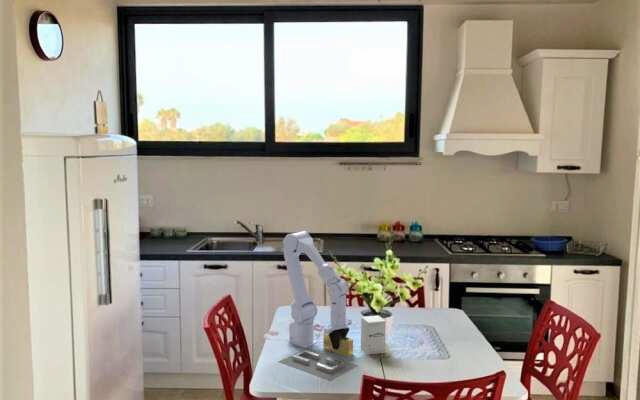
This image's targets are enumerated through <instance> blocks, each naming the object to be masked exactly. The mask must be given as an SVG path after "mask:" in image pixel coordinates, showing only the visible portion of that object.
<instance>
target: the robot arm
mask: <svg viewBox="0 0 640 400" xmlns="http://www.w3.org/2000/svg"><path fill="white" fill-rule="evenodd" d="M282 244H283V248H284V249H283V257H284V261H285V267H286V270H287V274H288V279H289V281H290V282H289V283H290V286H291V290H292V295H293V301H292V302H291V304H290V307H291V312H290V315H291V318H292V320H291V321H290V323H289V325H288V327H289V328H288V329H289V330H288V331H289V334H288V335H289V340H287V343H290V344H293V345H294V346H295V345H296V346H299V347H302V348H305V349H307V348H308V347H310V346H312V345H315V344H317V343H319V341H318V340H316V339H315V338H314V335H315V333H314V324H315V323H314V321H315V317H316V316H317V315H318V307H317V305H316V304H315V302H314V299H313V297H311V296H309V294H308V290H307V286H306V282H305V278H304V274H303V270H302V266H301V262H300V255H301V254H306V256H307V257H308V258H309V259H310V260H311V262H312V263H313V264H314V265H315V266H316V268H317V274H318V276H319V277H320V278H321V280H322V281H323V283H324V285H325V286H326V287H327V289H326V290H327V294H328V295H329V300H330V323H329V324H327V326H326V327H324V328H323V335H324V334H327V335H329V337H330V340H331V343H332V347H333V349H336V350H337V349H338V347H339V339H340V336H344V337H347V335H348V334H349V332H350V327H349V326H351V325H352V323H353V322H352V319H351V318H347V293H349V291H350V285H349V283H348V281H347V280H346V279H343V278H342V277H340V276H339V274H338V273H337V272H336V271H335V268H334V266H333V265H331V264H330V263H327V262H326V261H325V260H324V258H323V257H322V256H321V254H320V252H319V251H318V249H317V248H316V246H315V245H314V239H313V237H312V236H311V235H310V233H309V232H308V231H306V230H302V231H299V232H298V231H297V232H295V233H287V234H286V236H285V237H284V239H283V240H282Z"/></svg>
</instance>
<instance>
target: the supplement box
mask: <svg viewBox="0 0 640 400" xmlns="http://www.w3.org/2000/svg"><path fill="white" fill-rule="evenodd" d="M386 322H387V321H386V320H385V319H384V318H383V317H381V316H380V315H368V316H367V315H366V316H361V318H360V349H361V350H362V351H364V353H365V354H366V355H376V354H385V353H386Z"/></svg>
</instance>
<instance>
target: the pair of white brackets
mask: <svg viewBox="0 0 640 400" xmlns="http://www.w3.org/2000/svg"><path fill="white" fill-rule="evenodd" d="M304 350H305V349H304ZM301 351H302V352H300V351H299V352H300V353H298V352H297V353H298V354H296V353H295V354H296V355H294V354H293V355H294V356H293V360H294V361H297V362H300V363H302V364H305V365H308V364H310V360H309V359H306V358H303V357H304V356H307V357H310V358H313V359H316V360H319V359H320V355H319V354H316V353H313V352H310V351H307V350H305V351H303V350H301ZM326 363H327V364H330V365H333V366H334V367H329V366H326V365H324V364H321V363H317V364H316V369H319V370H322V371H325V372H328V373H330V374H332V373H334V372H336V371H338V370H340V369H341V368H343V367H344V363H343V362H340V361H337V360H334V359H331V358H327V359H326Z"/></svg>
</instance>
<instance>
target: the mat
mask: <svg viewBox="0 0 640 400" xmlns="http://www.w3.org/2000/svg"><path fill="white" fill-rule="evenodd" d="M305 350H307V351H310V352H313V353H316V354H319V355H320V359H319V360H316V359H313V358H310V357H307V356H304V357H303V358H306V359H309V360H310V364H308V365H305V364H302V363H300V362H297V361H294V360H293V356H294V355H296V354H298V353H300V352H302V351H305ZM327 358H331V359H334V360H337V361H340V362H343V363H344V367H343V368H341V369H340V370H338V371H336V372H334V373H332V374H330V373H328V372H325V371H322V370H319V369H316V364H317V363H321V364H324V365H326V366H329V367H334V366H333V365H330V364H327V363H326V359H327ZM277 363H280V364H283V365H286V366H289V367H292V368H294V369H296V370H299V371H303V372H305V373H308V374H310V375H312V376H316V377H318V378H321V379H324V380H325V381H329V382H331V381H333V380H335V379H337V378H339V377H341V376H342V375H344V374H345V373H348V372H349V371H351V370H353V369H354V368H357V367H359V364H356V363H353V362H350V361H346V360H344V359H341V358H338V357H334V356H333V355H332V356H331V355H329V354H326V353H322V352H320V351H316V350H313V349H311V348H308V347H306V348H305V349H303V350H301V351H298V352H296V353H294V354H292V355H290V356H287V357H285V358H282V359H281V360H279V361H278V362H277Z"/></svg>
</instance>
